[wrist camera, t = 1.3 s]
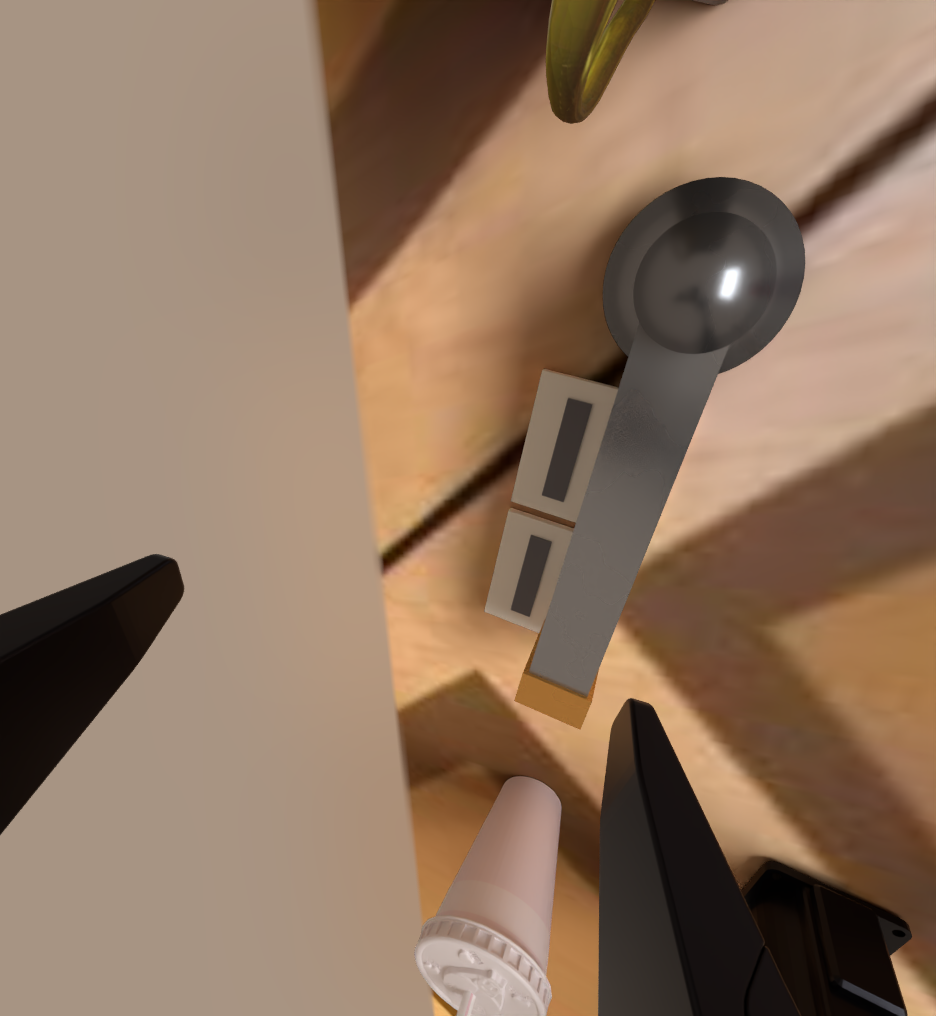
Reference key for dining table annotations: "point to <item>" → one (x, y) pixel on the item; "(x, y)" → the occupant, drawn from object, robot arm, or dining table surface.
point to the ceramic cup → (588, 50)
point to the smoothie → (499, 911)
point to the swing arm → (646, 440)
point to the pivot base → (691, 202)
